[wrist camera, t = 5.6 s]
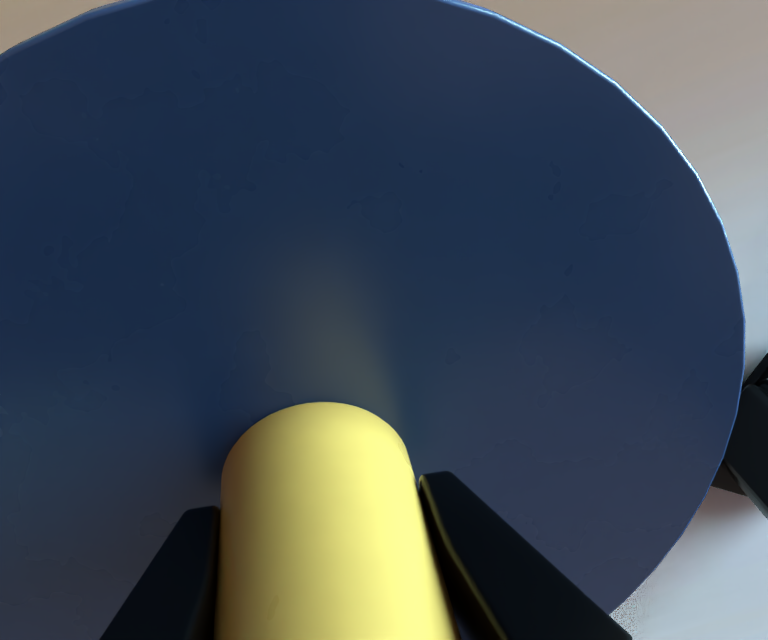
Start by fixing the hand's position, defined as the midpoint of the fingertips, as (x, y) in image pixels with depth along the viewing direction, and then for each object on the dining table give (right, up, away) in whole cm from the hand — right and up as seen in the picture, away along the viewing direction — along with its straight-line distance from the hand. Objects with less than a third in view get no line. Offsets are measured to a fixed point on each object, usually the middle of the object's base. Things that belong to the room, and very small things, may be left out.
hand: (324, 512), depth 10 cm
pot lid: (0, +1, +1) cm, 1 cm away
